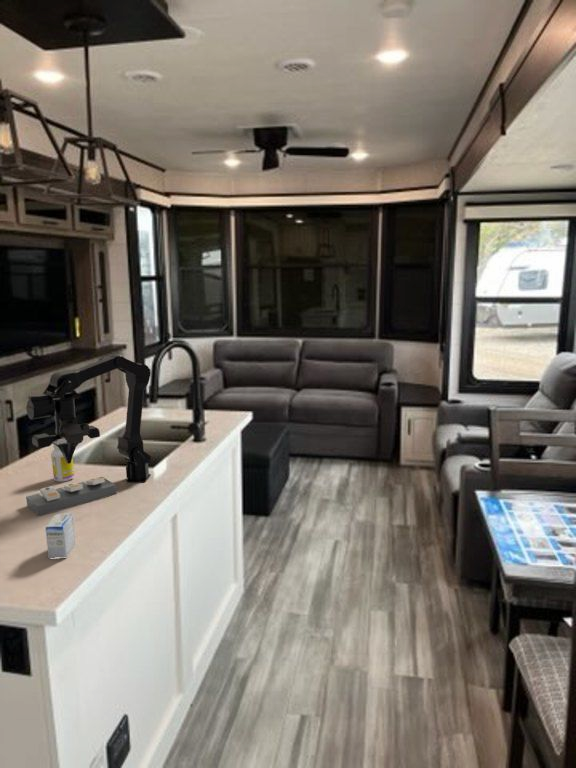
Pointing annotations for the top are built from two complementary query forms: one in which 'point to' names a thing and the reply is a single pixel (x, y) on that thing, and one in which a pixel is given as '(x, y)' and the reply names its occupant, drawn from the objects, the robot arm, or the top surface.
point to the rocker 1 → (50, 493)
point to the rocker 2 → (95, 481)
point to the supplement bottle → (61, 466)
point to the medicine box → (60, 535)
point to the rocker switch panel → (70, 497)
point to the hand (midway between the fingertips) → (68, 463)
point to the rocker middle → (73, 487)
